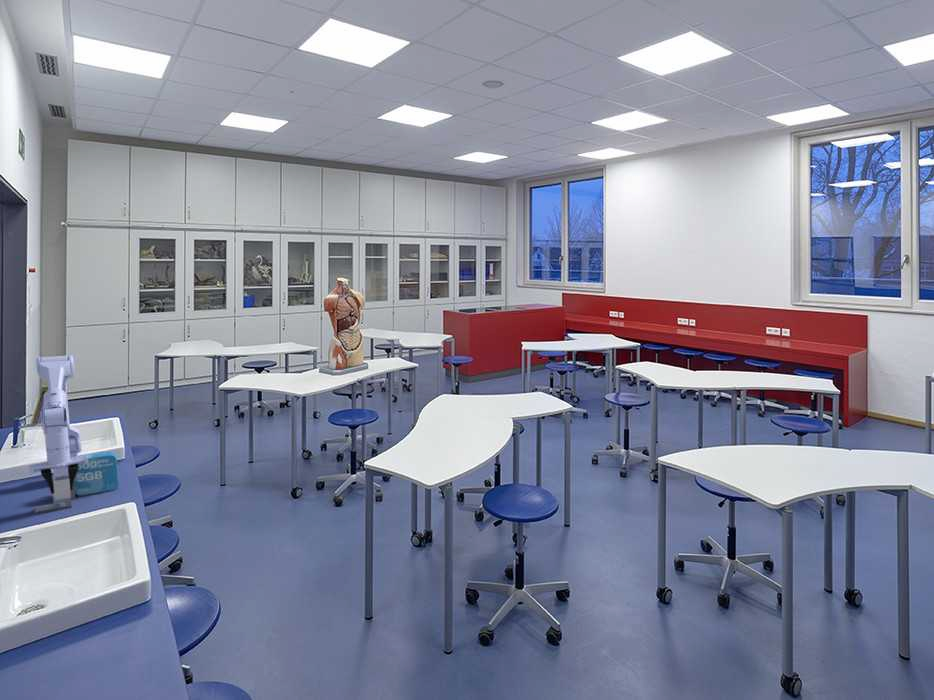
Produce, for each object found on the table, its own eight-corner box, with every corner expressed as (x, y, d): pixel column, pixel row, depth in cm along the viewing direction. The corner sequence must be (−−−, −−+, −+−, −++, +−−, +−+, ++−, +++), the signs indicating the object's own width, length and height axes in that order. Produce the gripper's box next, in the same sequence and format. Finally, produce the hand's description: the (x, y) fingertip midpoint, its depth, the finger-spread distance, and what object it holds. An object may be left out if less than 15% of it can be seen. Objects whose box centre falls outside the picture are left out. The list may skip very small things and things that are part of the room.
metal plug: (53, 496, 180) (51, 477, 179) (69, 493, 182) (67, 474, 182) (55, 500, 177) (53, 480, 176) (71, 497, 179) (69, 477, 179)
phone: (34, 511, 178) (34, 507, 178) (70, 504, 183) (70, 500, 183) (35, 516, 174) (34, 512, 174) (71, 509, 179) (71, 505, 179)
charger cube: (55, 497, 188) (53, 481, 187) (74, 493, 191) (72, 478, 190) (56, 502, 184) (54, 486, 183) (75, 498, 187) (74, 482, 186)
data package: (75, 496, 188) (71, 460, 187) (75, 492, 192) (72, 456, 190) (118, 489, 194) (116, 454, 193) (118, 485, 198) (115, 450, 197)
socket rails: (51, 495, 189) (50, 486, 189) (66, 492, 192) (65, 483, 191) (53, 504, 182) (53, 494, 182) (69, 501, 184) (69, 491, 184)
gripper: (28, 455, 170) (33, 500, 172) (88, 445, 179) (91, 489, 181) (27, 449, 176) (31, 493, 177) (84, 440, 185) (88, 482, 186)
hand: (61, 490), depth 180 cm, fingers closed on metal plug, 4 cm apart
